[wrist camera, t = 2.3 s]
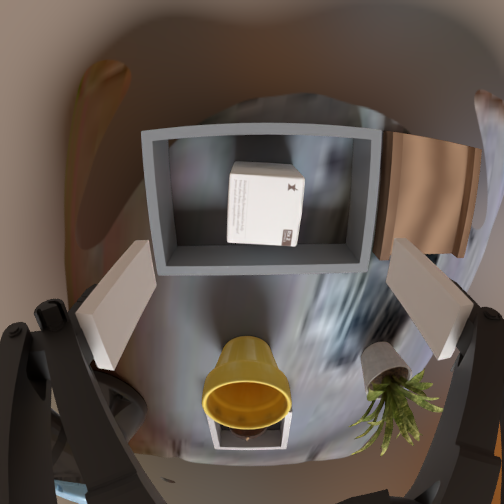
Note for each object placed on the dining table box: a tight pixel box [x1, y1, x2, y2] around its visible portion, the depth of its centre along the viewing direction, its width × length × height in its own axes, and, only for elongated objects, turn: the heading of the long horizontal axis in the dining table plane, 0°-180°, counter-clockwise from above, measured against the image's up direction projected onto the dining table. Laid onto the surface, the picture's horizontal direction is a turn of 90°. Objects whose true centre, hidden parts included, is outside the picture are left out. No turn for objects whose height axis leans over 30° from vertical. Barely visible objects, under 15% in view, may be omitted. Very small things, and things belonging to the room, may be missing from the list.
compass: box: [229, 426, 268, 440], centre depth 42 cm, size 8×8×7 cm
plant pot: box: [202, 336, 292, 429], centre depth 35 cm, size 10×10×10 cm
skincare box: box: [227, 161, 305, 247], centre depth 27 cm, size 6×6×7 cm
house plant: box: [349, 342, 443, 456], centre depth 32 cm, size 14×14×16 cm
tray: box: [372, 131, 482, 260], centre depth 29 cm, size 13×14×2 cm
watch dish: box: [206, 406, 292, 450], centre depth 44 cm, size 13×13×4 cm
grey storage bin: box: [141, 123, 382, 275], centre depth 28 cm, size 21×14×5 cm, turn 91°
